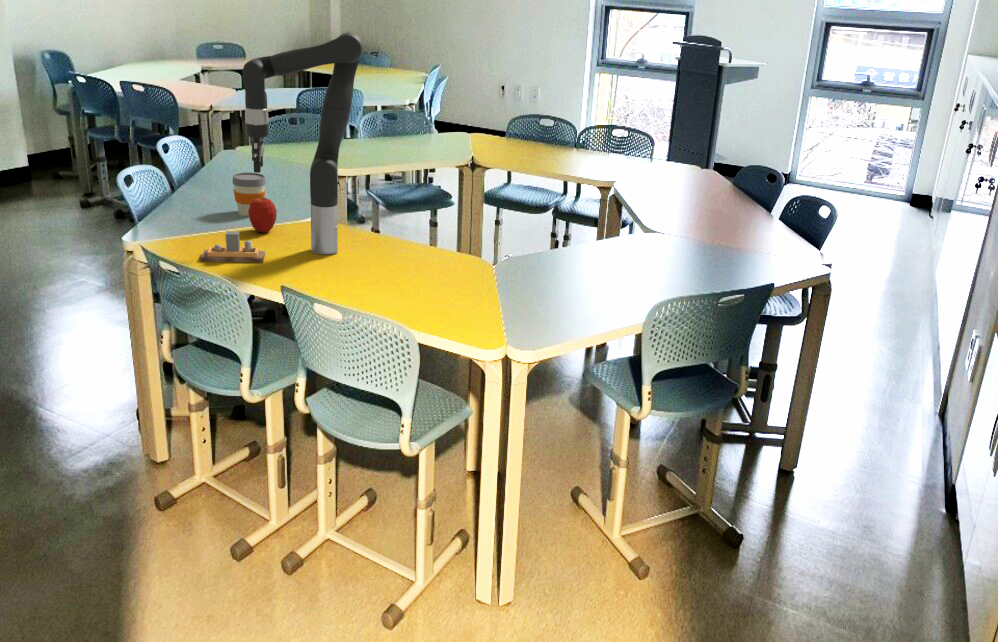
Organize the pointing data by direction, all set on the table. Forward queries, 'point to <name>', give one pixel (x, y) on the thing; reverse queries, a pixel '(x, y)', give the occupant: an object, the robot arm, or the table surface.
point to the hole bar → (232, 248)
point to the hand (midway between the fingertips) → (258, 169)
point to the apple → (262, 214)
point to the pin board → (234, 259)
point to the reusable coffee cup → (248, 190)
